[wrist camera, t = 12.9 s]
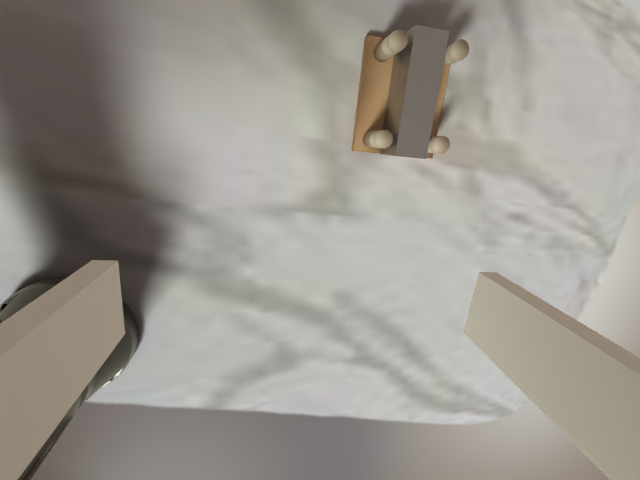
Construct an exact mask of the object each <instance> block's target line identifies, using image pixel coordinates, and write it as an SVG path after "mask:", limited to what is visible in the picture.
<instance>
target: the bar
mask: <svg viewBox="0 0 640 480" xmlns="http://www.w3.org/2000/svg"><path fill="white" fill-rule="evenodd" d="M449 32H450V30H444V29H438V28H432V27H427V26H421V25H415V26H413V27H412V28H411V29H410V30H408V31H407V32H406V34H407V37H408V42H407V45H406V47H405V48H404V49H403V50H401V51H400V52H398V53H397V54H395V55H394V58H393V65H392V72H391V79H390V86H389V93H388V100H387V107H386V114H385V121H384V128H383V130H388V131H389V132H391V134H392V136H393V141H392V144H391V145H390V146H389V147H388V148H380V154H386V155H393V156H402V157H412V158H423V159H426V157H427V151H428V146H429V141H430V135H431V130H432V124H433V119H434V114H435V108H436V103H437V97H438V92H439V87H440V81H441V76H442V70H443V65H444V60H445V54H446V49H447V43H448V38H449Z"/></svg>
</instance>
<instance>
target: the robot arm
mask: <svg viewBox="0 0 640 480" xmlns="http://www.w3.org/2000/svg"><path fill="white" fill-rule="evenodd" d="M464 333H465V334H466V335H467V336H468V337H469V338H470V339H471V340H472V341H473V342H474V343H475V344H476V345H477V346H478V347H479V348H480V349H481V350H482V351H483V352H484V353H485V354H486V355H487V356H488V357H489V358H490V359H491V360H492V361H493V362H494V363H495V364H496V366H497V367H498V368H499V369H500V370H501V371H502V372H503V373H504V374H505V375H506V376H507V377H508V378H509V379H510V380H511V381H512V382H513V383H514V384H515V385H516V386H517V387H518V388H519V389H520V390H521V391H522V392H523V393H524V394H525V395H526V396H527V397H528V398H529V399H530V400H531V401H532V402H534V404H535V405H536V406H537V407H538V408H539V409H540V410H541V411H542V412H543V413H544V414H545V415H546V416H547V417H548V418H549V419H550V420H551V421H552V422H553V423H554V424H555V425H556V426H557V427H558V428H559V429H560V430H561V431H562V432H563V433H564V434H565V435H566V436H567V437H568V438H569V439H570V440H571V441H572V442H573V443H574V444H575V445H576V446H577V447H578V448H579V449H580V450H581V451H582V452H583V453H584V454H585V455H586V456H587V457H588V458H589V459H590V460H591V461H592V462H593V463H594V464H595V465H596V466H597V467H598V468H599V469H600V470H601V471H602V472H603V473H604V474H605V475H606V476H607V477H608V478H609V479H610V480H640V358H639V357H637V356H636V355H634V354H632V353H631V352H629V351H627V350H625V349H624V348H622V347H620V346H619V345H617V344H615V343H614V342H612V341H610V340H609V339H607V338H605V337H604V336H602V335H600V334H598V333H597V332H595V331H594V330H592V329H590V328H588V327H587V326H585V325H584V324H582V323H580V322H578V321H577V320H575V319H573V318H572V317H570V316H568V315H567V314H565V313H563V312H562V311H560V310H558V309H557V308H555V307H553V306H552V305H550V304H548V303H547V302H545V301H543V300H542V299H540V298H538V297H537V296H535V295H533V294H531V293H530V292H528V291H526V290H525V289H523V288H521V287H520V286H518V285H516V284H515V283H513V282H511V281H510V280H508V279H506V278H505V277H503V276H501V275H500V274H498V273H496V272H479V274H478V278H477V282H476V286H475V289H474V293H473V297H472V301H471V305H470V309H469V313H468V317H467V321H466V325H465V329H464ZM137 344H138V328H137V324H136V321H135V318H134V316H133V314H132V312H131V311H130V309H129V308H128V306H127V305H126V304H125V303H124V302H123V301H122V295H121V285H120V274H119V264H118V261H109V260H92V261H90V262H89V263H87V264H86V265H84V266H83V267H82V268H80V269H79V270H77V271H76V272H74V273H73V274H71V275H70V276H69V277H56V278H48V279H44V280H40V281H37V282H34V283H32V284H30V285H28V286H26V287H24V288H23V289H21V290H20V291H18V292H16V293H15V294H13V295H12V296H10V297H9V298H7V299H6V300H5V301H4V302H3V303H2V304H1V305H0V480H30V479H31V478H32V477H33V475H34V474H35V472H36V471H37V469H38V468H39V466H40V465H41V463H42V462H43V460H44V459H45V457H46V456H47V454H48V453H49V451H50V450H51V448H52V447H53V445H54V444H55V443H56V441H57V440H58V438H59V437H60V435H61V434H62V432H63V431H64V429H65V428H66V426H67V425H68V423H69V422H70V421H71V419H72V418H73V416H74V415H75V413H76V412H77V410H78V409H79V408H80V406H81V405H82V403H83V402H84V401H86V400H87V399H88V398H89V397H91V396H92V395H93V394H94V393H95V392H96V391H97V390H99V389H100V388H102V387H104V386H106V385H107V384H109V383H110V382H111V381H113V380H114V379H115V378H116V377H118V375H119V374H120V373H121V372H122V371H123V370H124V369H125V367H126V366H127V364H128V363H129V361H130V359H131V358H132V356H133V354H134V352H135V350H136V347H137Z"/></svg>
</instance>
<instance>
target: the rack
mask: <svg viewBox="0 0 640 480" xmlns="http://www.w3.org/2000/svg"><path fill="white" fill-rule="evenodd" d="M407 42H408V37H407V34H406V32H405V31H404V30H402V29H397V30H395V31H393V32H392V33H391V34H390V35H389V36H387V37H386V38H383V37H377V36H370V35H367V36H366V37H365V41H364V50H363V58H362V67H361V75H360V84H359V92H358V101H357V109H356V118H355V126H354V135H353V144H352V151H360V152H371V153H380V148H388V147H389V146H390V145H391V144H392V141H393V136H392V134H391V132H389V131H388V130H383V128H384V121H385V114H386V107H387V100H388V93H389V86H390V79H391V72H392V65H393V58H394V55H395V54H397V53H398V52H400V51H401V50H403V49H404V48H405V47H406V45H407ZM468 52H469V45H468V43H467V42H466V41H465V40H463V39H460V40H457V41H455V42H453V43H451V44H449V45H448V46H447V49H446V54H445V60H444V65H443V70H442V76H441V81H440V87H439V92H438V97H437V103H436V108H435V114H434V119H433V124H432V130H431V135H430V141H429V146H428V151H427V157H426V158H432V157H433V153H436V154H443V153H445V152H447V150H448V149H449V146H450V142H449V139H448V138H447V137H445V136H437V131H438V125H439V120H440V115H441V110H442V104H443V99H444V94H445V88H446V83H447V78H448V72H449V67H450V64H453V63H455V62H457V61H460V60H462V59H464V58H465V57H466V56H467V55H468Z"/></svg>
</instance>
